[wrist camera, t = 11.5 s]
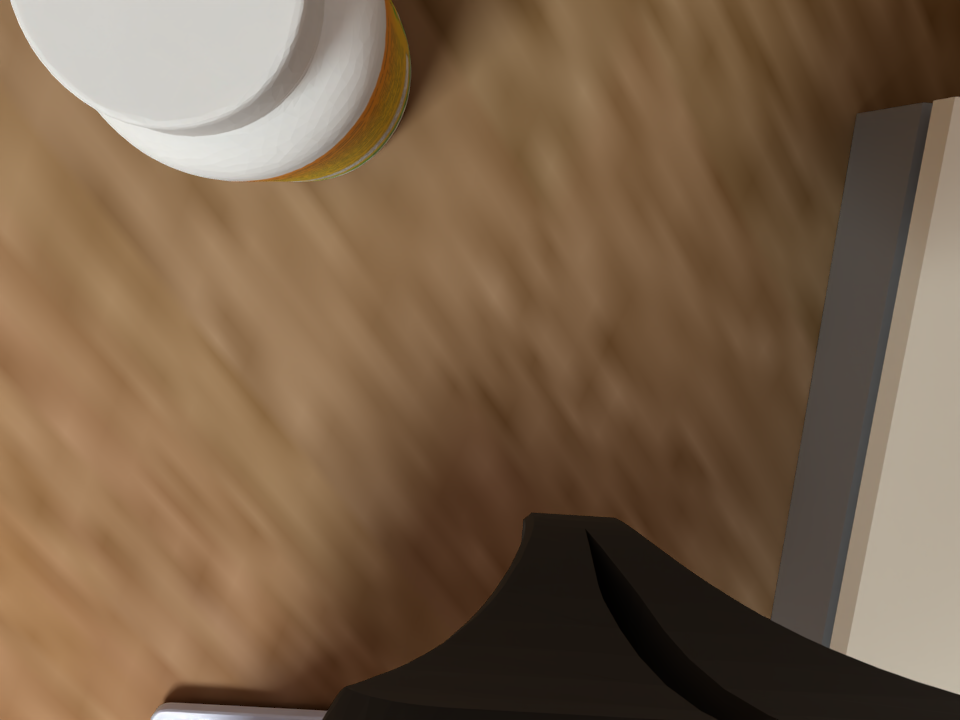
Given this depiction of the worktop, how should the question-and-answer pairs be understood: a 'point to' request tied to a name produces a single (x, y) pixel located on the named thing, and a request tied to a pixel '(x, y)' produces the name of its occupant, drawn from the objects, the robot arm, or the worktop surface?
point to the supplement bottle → (233, 79)
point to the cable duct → (849, 364)
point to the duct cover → (915, 450)
